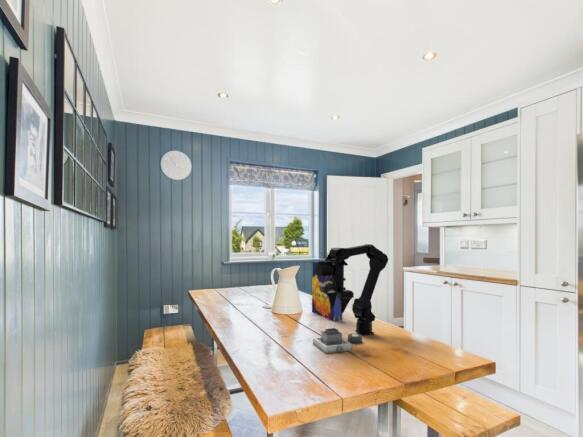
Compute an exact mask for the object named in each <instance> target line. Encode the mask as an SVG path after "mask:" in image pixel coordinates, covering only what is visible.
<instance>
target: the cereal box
mask: <svg viewBox="0 0 583 437" xmlns="http://www.w3.org/2000/svg"><path fill="white" fill-rule="evenodd" d="M318 261H319V260H314V261H312V271H311V272H312V274H311V275H312V276H311V277H312V278H311V279H312V280H311V282H312V285H311V287H312V288H311V290H312V291H311V313H313V312H314V313H313V314H315V313H316V314H315V315H317V314H318V315H317V316H320V317H322V316H323V318H324V317H325V319H328V320H329V321H331V320H332V321H331V322H339V320H340V321H343V313H341V309H340V301H339V299H338V298H337V297H338V296H336V300H335V304H334V308H331V306H330V303H329V299H328V296H327V295H326V294H325V293H323V292H321V291H320V288H319V285H320V284H322V283H325V282H327V281H329V277H331V276H322V277H318V276H317V275H316V272H315V268H316V265H317V264H318ZM333 264H334V263H333Z"/></svg>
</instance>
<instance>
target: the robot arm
mask: <svg viewBox="0 0 583 437" xmlns="http://www.w3.org/2000/svg"><path fill="white" fill-rule="evenodd" d="M364 254H365V255H366V257H367V258H368V259H369V260H368V261H369V262H368V265H369V271H368V274H367V276H366V280H365V283H364V285H363V288H362V290H361V294H360V296H358V298H354V292H353V291H352V290H350V289H347V288H346V286H345V283H344V282H345V281H346V279H347V278H345V266H348V265H349V264H348V263H347V262H346V260H348V259H349V258H350V257H353V256H354V257H355V256H359V255H364ZM317 261H318V264H317V265H316V268H315V272H316V275H317V276H318V277H322V276H331V277H329V281H327V282H325V283H322V284H320V285H319V288H320V291H321V292H323V293H325V294H326V295H327V296H328V299H329V303H330V306H331V308H334V304H335V300H336V296H338V297H337V298H338V299H339V301H340V309H341V313H342V314H343V313H344V312H346V311H345V310H346V309H347V306H348V305H349V303H350V301H351V300H352V299H353V298H354V300H353V304H352V305H351V307H352V309H351V310H352V313H353V315H354V318H355V319H356V326H355V327H356V329H355V330H354V331H355V332H356V333H357V334H359V335H361V336H365V335H374V334H375V332H374V331H373V322H375V320H376V315H375V314H374V313H373V312H372V308H373V306H372V301H371V300H372V297H373V295H374V292H375V287H376V285H377V283H378V280H379V277H380V273H381V272H382V271H383V270H384V269H385V268H386V266H387V264H388V262H389V258H388V255H387V254H386V253H384V252H383V251H381V250H380V249H379V248H377V247H376V246H375V245H373V244H371V243H370V244H368V243H366V244H361V245H357V246H351V247H332V248H330V250H329V253H328V254H327V256H326V258H325V259H324V260H317ZM333 263H334V264H333Z"/></svg>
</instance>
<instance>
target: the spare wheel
mask: <svg viewBox="0 0 583 437" xmlns="http://www.w3.org/2000/svg"><path fill="white" fill-rule="evenodd" d="M347 341H348V342H349V343H351V344H354V345H355V344H356V345H358V344H362V343H363V335H362V334H360V333H348V335H347Z"/></svg>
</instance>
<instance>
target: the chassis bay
mask: <svg viewBox="0 0 583 437" xmlns="http://www.w3.org/2000/svg"><path fill="white" fill-rule="evenodd" d="M312 344H313V346H314V347H316V348H318V349H319V350H320V351H322V352H323V353H324V354H331V353H332V354H333V353H342V352H348V351H352V343H350V342H348V340H346V339H344V338H343V337H342V344H339V345H331V346H326V345H324V344H323V343H322V342H321V336H317V337H313V338H312Z"/></svg>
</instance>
